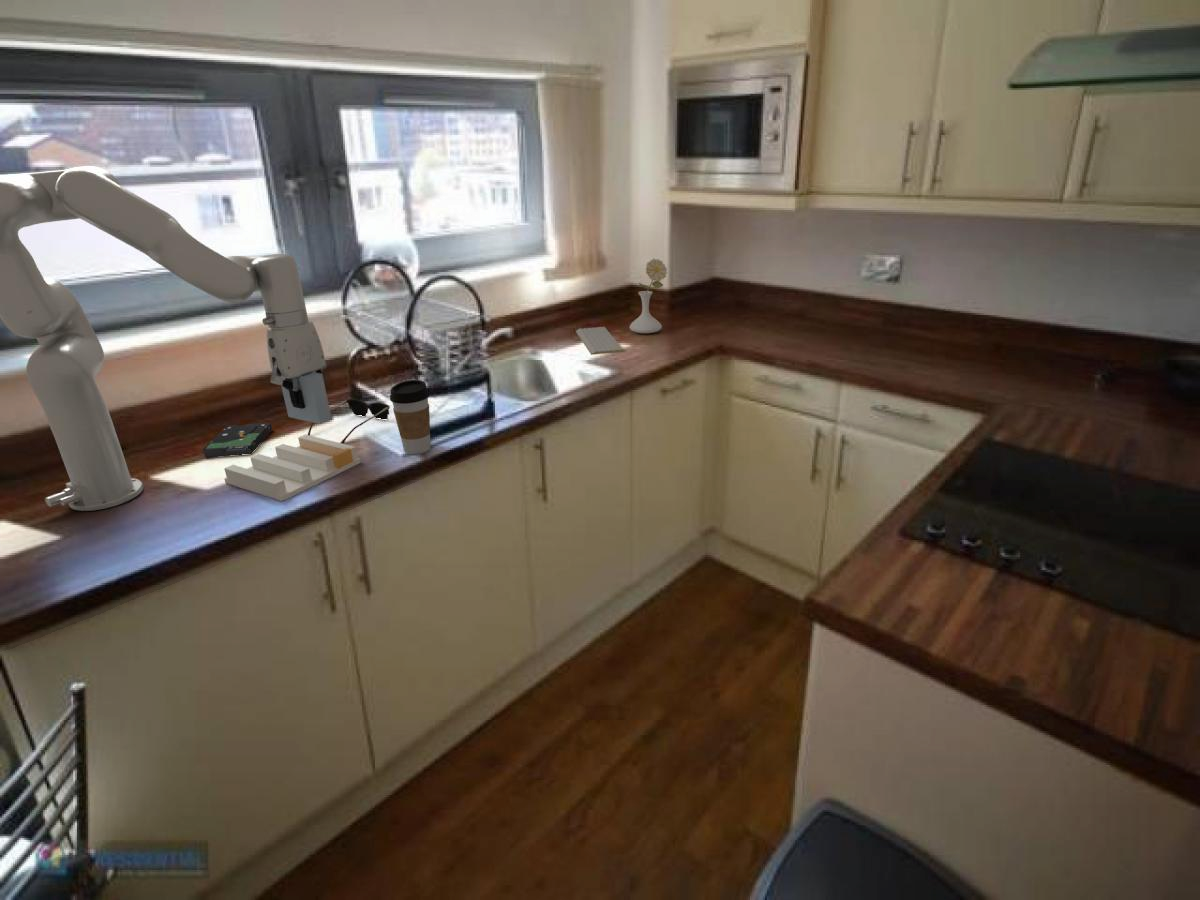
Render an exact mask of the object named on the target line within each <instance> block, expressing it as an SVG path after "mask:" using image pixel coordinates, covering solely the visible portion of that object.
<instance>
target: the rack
mask: <svg viewBox="0 0 1200 900" xmlns="http://www.w3.org/2000/svg"><path fill="white" fill-rule="evenodd" d="M297 439H298V443H299V446H297V447H296V446H293V445H288V444H285V443H282V444H279V445H277V446H275V447H274V448H275V449H274V450H275V452H276V453H275V454H276V456H273V457H270V456H267V455H263V454H260V453H258V454H255V455H253V456H251V457H250V462H251V465H252V466H250V467H247V468H245V467H242V466H238V465H236V464H231V465H229V466H227V467H225V468H224V469H223V471H224V473H225V476H226V477H224V478H223V479H224V482H225V483H226V484H228V485H231V486H234V487H236V488H241V489H243V490H247V491H249V492H253V493H256V494H259V495H261V496H265V497H269V498H271V499H274V498H275V499H274V500H278V501H280V500H281V501H280V502H284V501H285V499H286V500H288V499H289V498H292V497H293V496H296V495H298V494H300V493H302V492H304V491H306V490H308V489H310V488H312V487H315V486H316V485H319V484H320V483H322V482H325V481H327V480H328V479H330V478H332V477H334V476H336V475H339V474H340V473H343V472H345V471H346V470H348V469H351V468H353V467H355V466H357V465H359V464H361V463H362V461H361V457H358V455H357V449H356V446H353V445H350V444H346V443H343V444H342V443H341V442H337V441H334V440H331V439H325V438H321V437H317V436H312V435H311V434H310V435H308V434H303V435H301V436H299V437H297ZM283 500H284V501H283Z"/></svg>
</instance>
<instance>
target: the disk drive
mask: <svg viewBox="0 0 1200 900" xmlns="http://www.w3.org/2000/svg"><path fill="white" fill-rule="evenodd" d="M271 430H272V431H273V428H272V424H271V422H262V423H261V422H259V423H246V424H244V425H238V424H227V425H226V426H225V427H224V428H223V429H222V430H221V431H220V432H219V433H218V434H216V436H215V437H213V439H212V440H210V442H208V443H207V444H206V445H205V446H204V447H203V449H202V450H203V454H204V458H205V457H209V458H219V457H218V456H224V457H231V456H230V455H239V456H243V455H242V454H251V455H253V453H254V452H255V451H256V450H257V449H258V448H259V446H260V445H261V444H262V443H263V442H264V441H265V440H264V438H265V437H266V436H267V435H268V434H269V433H270V432H271ZM271 433H272V432H271ZM271 433H270V434H271ZM270 434H269V435H270ZM269 435H268V436H269ZM268 436H267V437H268ZM267 437H266V438H267ZM266 438H265V439H266ZM263 440H264V441H263ZM262 441H263V442H262ZM261 442H262V443H261ZM260 443H261V444H260ZM259 444H260V445H259ZM258 445H259V446H258ZM257 447H258V448H257ZM256 448H257V449H256ZM255 449H256V450H255ZM254 450H255V451H254ZM253 451H254V452H253ZM252 452H253V453H252Z"/></svg>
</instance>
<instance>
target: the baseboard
mask: <svg viewBox="0 0 1200 900" xmlns="http://www.w3.org/2000/svg"><path fill="white" fill-rule="evenodd" d="M585 326H590V327H584V328H581V327H580V325H579V326H577V325H576V327H575V328H577V327H580V328H578V329H577V330H576V329H575V328H571V330H572V331H573V332H575V333H576V334H577V336H578V337H579V338H580V340H581V341H582V343H583V345H584V346H585V347H586V349H587V351H588V352H589V353H590V355H603V354H616V353H624V349H623V347H622V346H621V344H620V343H619V342H618V341H617V339H616V338H615V337H614V336H613V335H612V334H611V333H610V332H609V331H608V329H607V328H606V327H605V326H597V327H595V324H594V325H593V324H592V323H590V324H589V323H588V324H585ZM591 326H594V327H591Z"/></svg>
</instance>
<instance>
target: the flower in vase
mask: <svg viewBox="0 0 1200 900" xmlns="http://www.w3.org/2000/svg"><path fill="white" fill-rule="evenodd" d="M645 266H646V267H645V274H646V275H647V277H648V278H649V279H650V280H651V282H650V284H649V286H648V285H646V284H645V285H644V284H642V283H640V282H638V284H639V286H640V287H642V288H645V289H647V290H643V291H638V295H639V296H640V299H641V308H642V310H641V313H640V315H639V316H638V317H637V318H635V319H634V320H633V321H632V322H631V324H630V325H629V330H630V331H631V332H634V333H637V334H651V333H656V332H659V331H661V330H662V328H663V327H662V324H661V322H660V321H658V319H656V318H655V317H653V316H652V315H651V313H650V310H649V309H650V308H649V307H650V306H649V305H650V300H651V296H652V294H653V293H654V292H653V291H651V290H650V288H651V286H652V287H654V288H655V289H659V288H662V287H663V286H664V284H663V283H662V282H661V281H662V280H664V279H665V278H666V277H667V273H668V269H667V266H666V265H665V263H664V262H663V260H661V259H660V260H659V259H658V258H656V259H655V258H652V259H650V261H647V262H646V265H645Z"/></svg>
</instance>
